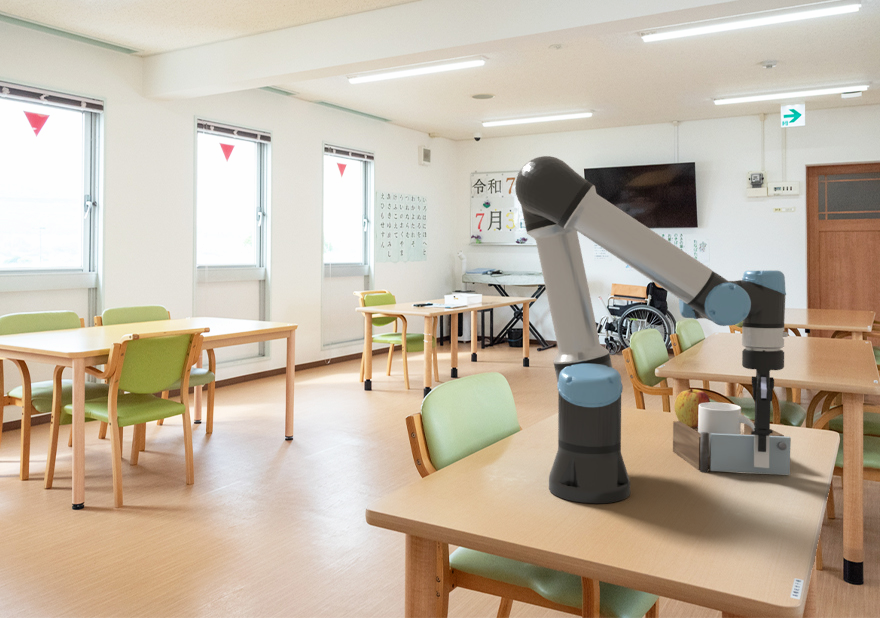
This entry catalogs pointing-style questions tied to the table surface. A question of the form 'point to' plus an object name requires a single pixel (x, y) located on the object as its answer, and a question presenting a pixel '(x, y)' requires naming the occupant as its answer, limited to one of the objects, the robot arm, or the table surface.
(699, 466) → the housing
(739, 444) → the door
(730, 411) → the mug
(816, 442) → the table surface
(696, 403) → the apple
